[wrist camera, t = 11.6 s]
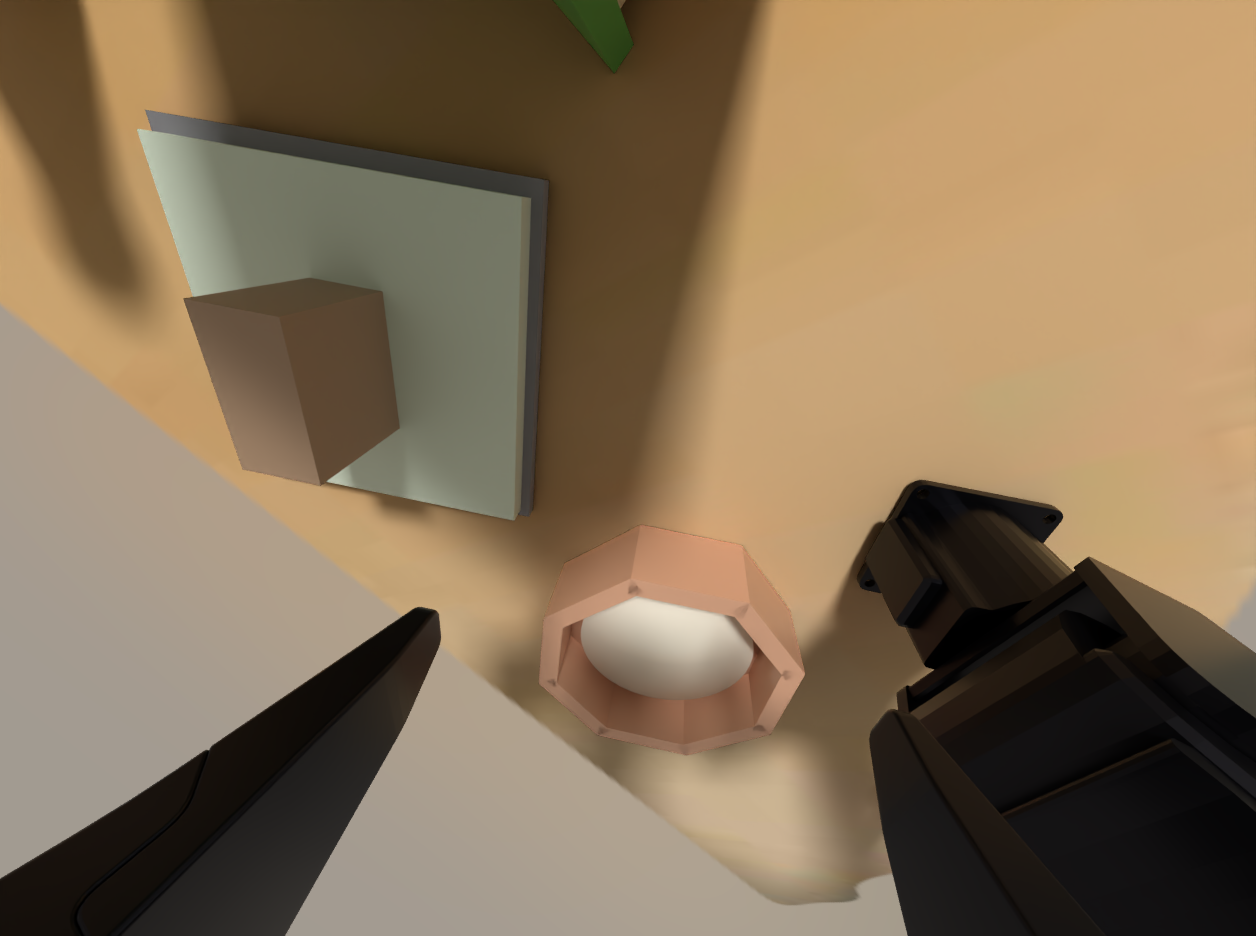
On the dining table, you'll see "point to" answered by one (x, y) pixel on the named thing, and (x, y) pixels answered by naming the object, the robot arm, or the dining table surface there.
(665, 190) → the dining table surface
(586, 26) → the hardback book
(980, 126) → the dining table surface
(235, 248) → the lid
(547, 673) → the bowl
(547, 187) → the mat
